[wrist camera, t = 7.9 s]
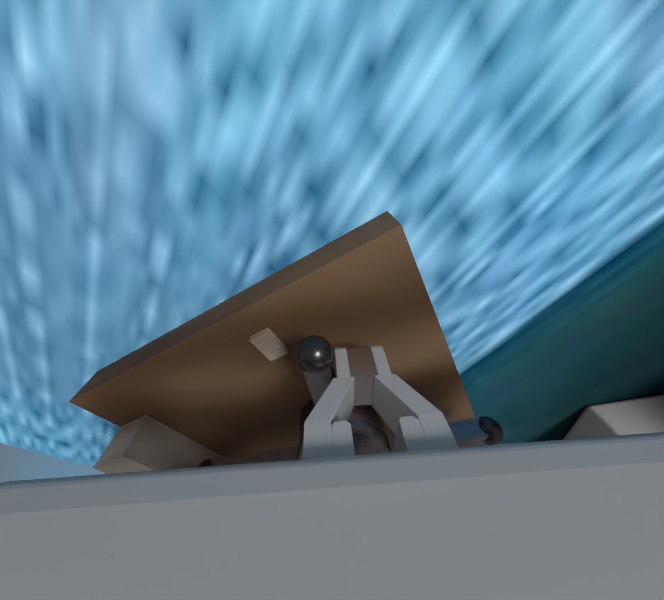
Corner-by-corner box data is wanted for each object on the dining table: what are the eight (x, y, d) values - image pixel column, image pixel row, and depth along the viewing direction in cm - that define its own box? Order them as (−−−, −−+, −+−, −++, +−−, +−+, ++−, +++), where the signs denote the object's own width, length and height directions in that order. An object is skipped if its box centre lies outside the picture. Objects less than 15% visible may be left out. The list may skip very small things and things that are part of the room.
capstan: (510, 270, 10) (585, 319, 7) (460, 457, 20) (485, 511, 17) (124, 338, 11) (58, 407, 8) (254, 488, 20) (245, 544, 18)
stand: (468, 411, 20) (514, 491, 15) (274, 475, 24) (266, 554, 19) (387, 211, 11) (441, 263, 6) (96, 372, 15) (1, 474, 10)
